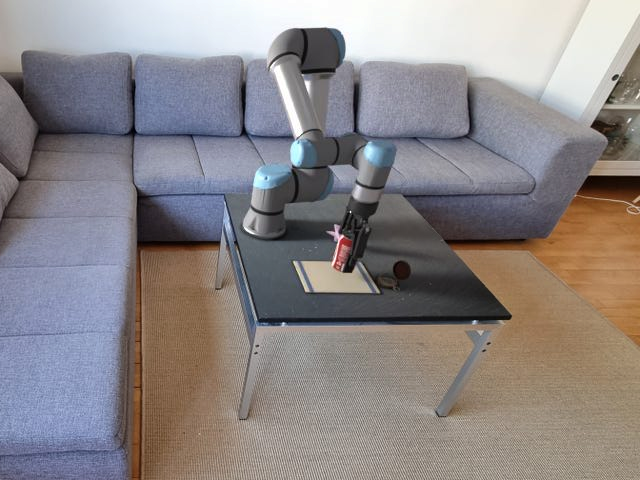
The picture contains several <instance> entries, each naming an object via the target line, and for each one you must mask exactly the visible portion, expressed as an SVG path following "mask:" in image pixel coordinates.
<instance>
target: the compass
mask: <svg viewBox="0 0 640 480" xmlns="http://www.w3.org/2000/svg"><path fill="white" fill-rule="evenodd" d="M411 273H412V268H411V265H410V263H408V261H406V260H405V259H401V260H396V261H395V262H394V263H393V265H392V275H393V276H392V275H389V274H379V275H377V276H376V278H375V282H376V283H377V284H378V285H379V286H380V287H382V288H385V289H392V290H394V291H397V292H398V291H400V290H401V289H400V288H399V287H398V286H399V281H406V280H408V279H409V278H410V276H411ZM396 289H397V290H396Z"/></svg>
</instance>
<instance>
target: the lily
mask: <svg viewBox="0 0 640 480" xmlns="http://www.w3.org/2000/svg"><path fill="white" fill-rule="evenodd" d="M340 226H341V225H338V224H334V231H329V230H326V231H325V233H326V234H329V235H331V236H332V237H334V238H333V241H334V242H335V243H336V242H337V243H338V241H339V237H340V234H339V233H338V231H339V229H340Z"/></svg>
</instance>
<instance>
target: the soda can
mask: <svg viewBox="0 0 640 480" xmlns="http://www.w3.org/2000/svg"><path fill="white" fill-rule="evenodd" d="M352 237H353V233H352V230H348V231H345V232H344V233H343V235H341V236H340V237H339V241H338V242H337V244H336V247H335V251H334V254H333V257H332V261H331V262H332V263H331V265H332V267H333V268H334V269H335V270H337V271H339V272H342V271H343V268H344V265H345V262H346V259H347V254H350V250H351V244H352ZM358 260H359V258H357V260H356V263H357V262H358ZM356 263H355V266H356ZM355 266H354V269H355ZM354 269H353V271H354ZM342 273H343V272H342Z"/></svg>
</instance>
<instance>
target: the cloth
mask: <svg viewBox="0 0 640 480" xmlns="http://www.w3.org/2000/svg"><path fill="white" fill-rule="evenodd" d="M292 262H293V265H294V267H295V269H296V271H297V272H296V273H297V274H298V277H299V279H300V281H301V284H302V286H303V288H304V291H305V293H306V294H307V293H310V294H311V293H313V294H314V293H316V294H372V295H373V294H379V295H380V294H381V291H380V290H379V288H378V286H377V285H376V284H375V282H374V281H373V279H372V277H371V276H370V274H369V272H368V270H367V269H366V268H365V266H364V265H363V263H362V261H357V263H356V266H355V269H354V271H353V272H352V273H342V272H339V271H337V270H335V269H334V268H333V267H332V265H331V263H332V261H328V260H327V261H325V260H324V261H322V260H321V261H319V260H318V261H317V260H314V261H313V260H293V261H292Z"/></svg>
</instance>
